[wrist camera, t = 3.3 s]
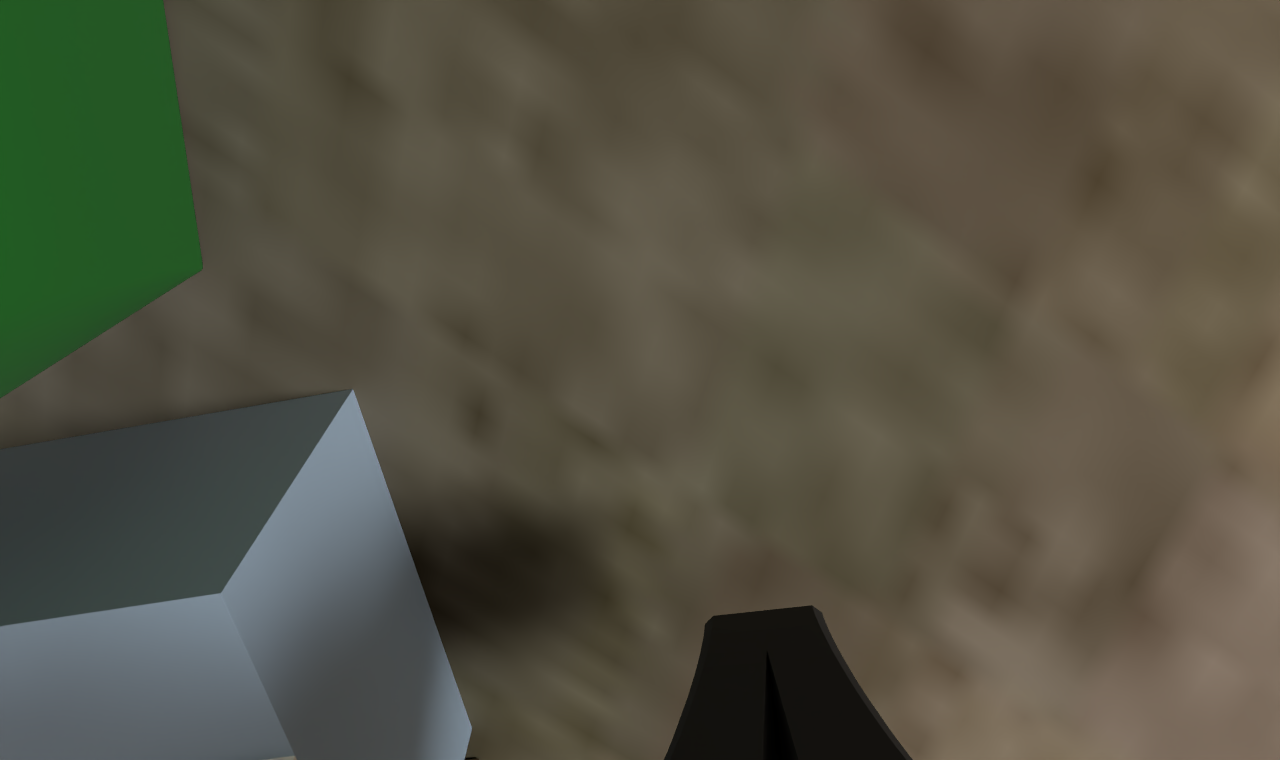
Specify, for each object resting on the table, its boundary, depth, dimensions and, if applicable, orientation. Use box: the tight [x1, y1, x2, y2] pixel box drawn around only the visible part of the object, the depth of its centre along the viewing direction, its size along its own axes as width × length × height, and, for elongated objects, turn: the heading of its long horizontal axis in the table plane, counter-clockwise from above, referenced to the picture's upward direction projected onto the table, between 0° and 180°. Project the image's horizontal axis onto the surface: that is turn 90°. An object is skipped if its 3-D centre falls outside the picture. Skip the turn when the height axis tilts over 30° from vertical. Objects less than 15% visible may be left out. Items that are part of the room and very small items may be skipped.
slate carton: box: [0, 389, 472, 760], centre depth 14 cm, size 7×6×5 cm
